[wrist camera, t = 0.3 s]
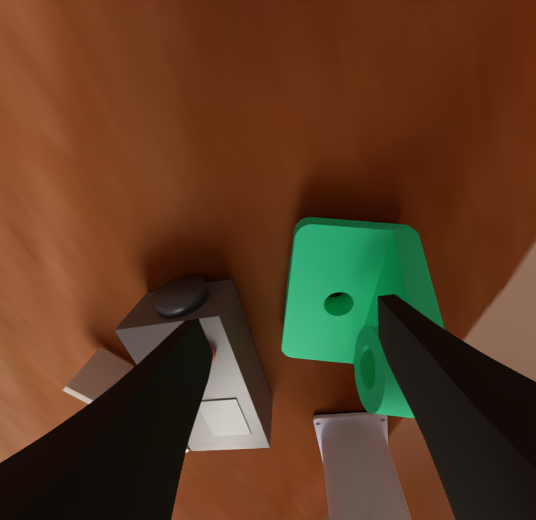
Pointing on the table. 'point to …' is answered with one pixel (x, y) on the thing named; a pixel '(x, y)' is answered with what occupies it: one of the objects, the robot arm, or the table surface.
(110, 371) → the side door
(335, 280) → the camera mount
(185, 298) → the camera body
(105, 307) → the table surface
